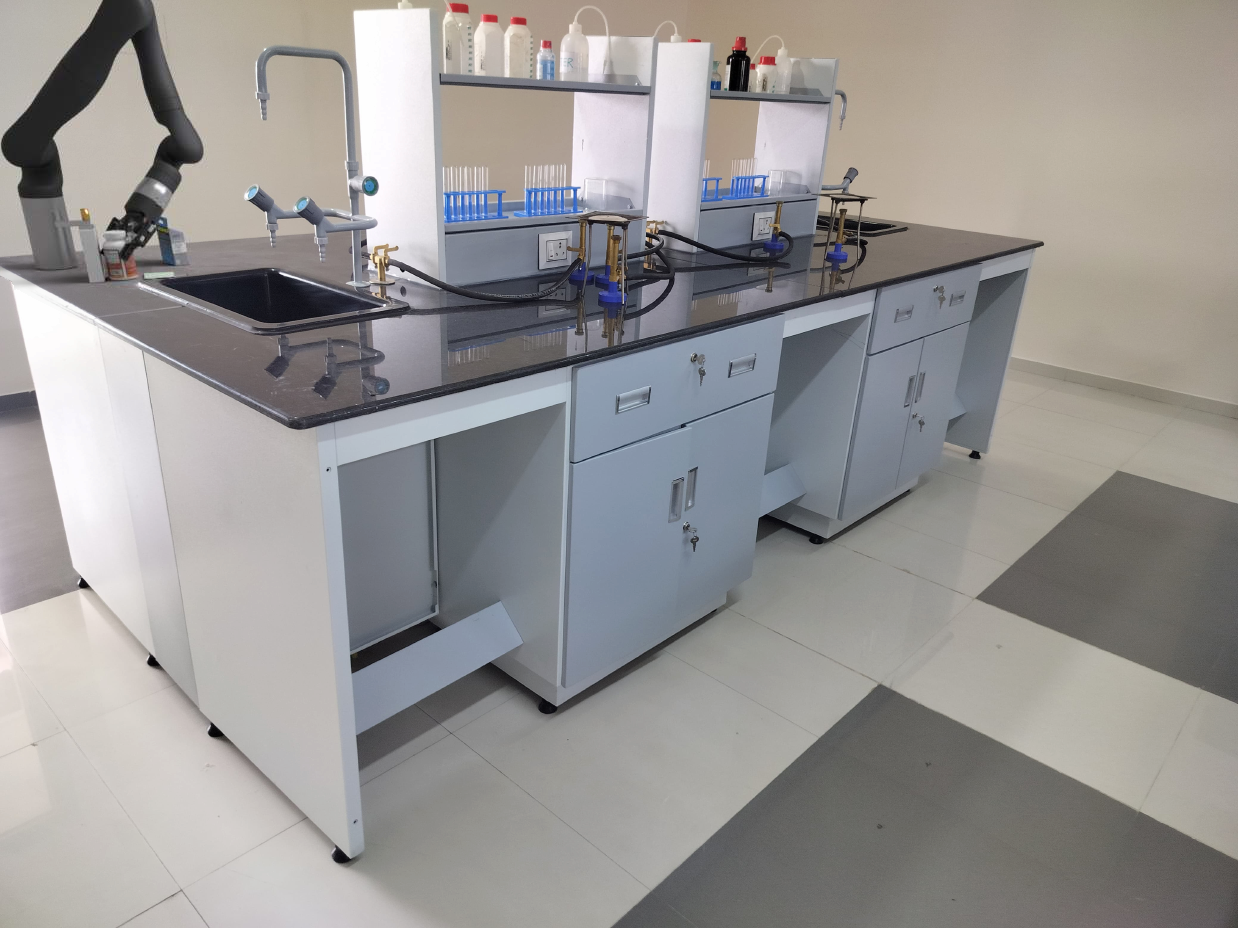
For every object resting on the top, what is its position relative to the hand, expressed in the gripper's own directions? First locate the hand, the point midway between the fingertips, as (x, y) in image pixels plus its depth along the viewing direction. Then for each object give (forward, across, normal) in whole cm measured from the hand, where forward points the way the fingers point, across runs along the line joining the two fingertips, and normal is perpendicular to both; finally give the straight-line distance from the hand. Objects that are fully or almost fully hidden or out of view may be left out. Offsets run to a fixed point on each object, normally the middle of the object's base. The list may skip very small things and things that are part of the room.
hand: (113, 257), depth 205 cm
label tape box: (-11, -8, +19) cm, 24 cm away
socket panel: (+5, -4, +2) cm, 7 cm away
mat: (-2, +5, +9) cm, 11 cm away
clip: (-2, -4, -9) cm, 10 cm away
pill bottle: (+3, 0, +5) cm, 6 cm away
